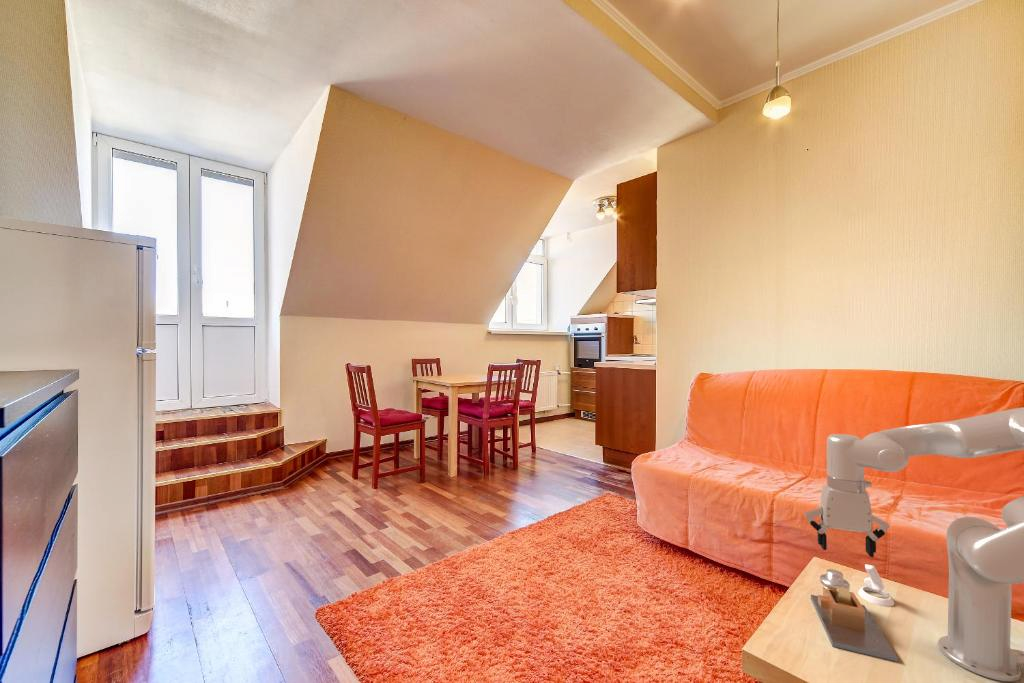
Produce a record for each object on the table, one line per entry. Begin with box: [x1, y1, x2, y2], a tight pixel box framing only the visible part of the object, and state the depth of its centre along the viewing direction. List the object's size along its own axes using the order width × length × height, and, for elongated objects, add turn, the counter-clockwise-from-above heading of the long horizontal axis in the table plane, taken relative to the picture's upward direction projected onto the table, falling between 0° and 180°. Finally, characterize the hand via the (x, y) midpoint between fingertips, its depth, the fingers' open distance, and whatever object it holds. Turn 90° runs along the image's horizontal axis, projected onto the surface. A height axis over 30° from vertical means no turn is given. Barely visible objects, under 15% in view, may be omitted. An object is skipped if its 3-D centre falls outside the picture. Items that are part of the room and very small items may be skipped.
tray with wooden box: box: [810, 568, 898, 663], centre depth 108 cm, size 12×22×9 cm, turn 157°
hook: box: [857, 564, 895, 607], centre depth 119 cm, size 8×12×7 cm
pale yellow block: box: [836, 586, 851, 606], centre depth 109 cm, size 2×4×7 cm, turn 152°
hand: (846, 551), depth 109 cm, fingers open, 9 cm apart
